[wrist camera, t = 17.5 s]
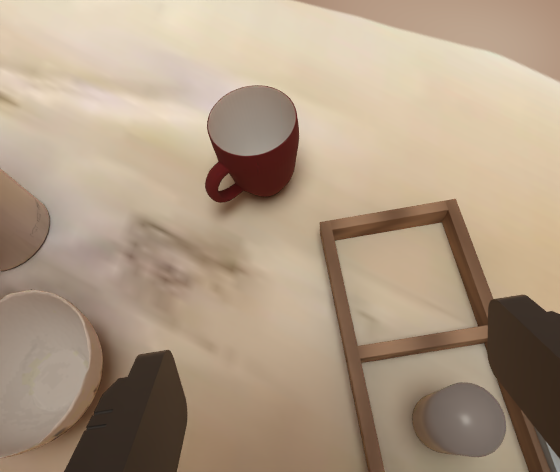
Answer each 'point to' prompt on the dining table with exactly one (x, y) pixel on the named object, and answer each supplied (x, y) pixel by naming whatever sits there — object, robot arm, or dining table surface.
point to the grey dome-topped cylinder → (460, 421)
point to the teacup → (44, 369)
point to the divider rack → (536, 451)
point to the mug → (252, 142)
